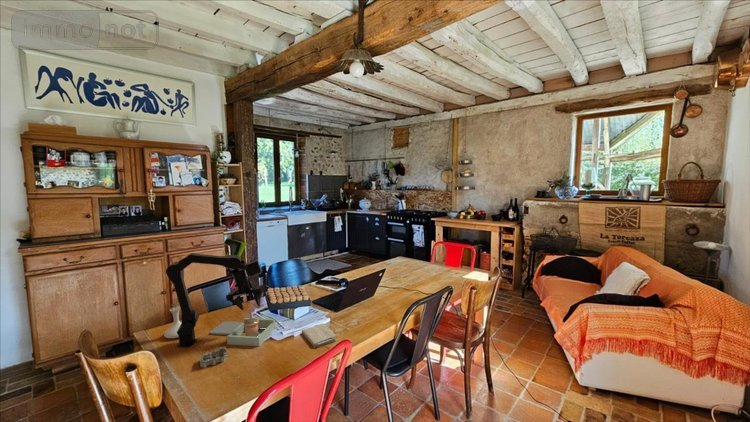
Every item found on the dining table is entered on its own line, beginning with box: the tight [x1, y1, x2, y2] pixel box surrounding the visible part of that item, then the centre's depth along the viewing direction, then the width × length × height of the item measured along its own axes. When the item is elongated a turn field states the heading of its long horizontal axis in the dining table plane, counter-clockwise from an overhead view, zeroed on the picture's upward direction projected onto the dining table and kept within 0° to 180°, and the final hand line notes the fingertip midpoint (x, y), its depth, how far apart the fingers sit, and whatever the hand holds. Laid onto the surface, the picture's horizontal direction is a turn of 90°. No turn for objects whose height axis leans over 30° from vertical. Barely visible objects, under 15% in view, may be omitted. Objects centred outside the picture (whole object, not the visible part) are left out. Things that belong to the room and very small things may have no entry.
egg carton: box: [198, 345, 228, 369], centre depth 135 cm, size 11×8×4 cm
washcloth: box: [301, 323, 337, 349], centre depth 153 cm, size 12×18×3 cm, turn 34°
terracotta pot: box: [242, 317, 260, 337], centre depth 155 cm, size 7×7×8 cm
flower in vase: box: [163, 297, 182, 339], centre depth 158 cm, size 13×11×25 cm
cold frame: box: [226, 317, 276, 347], centre depth 155 cm, size 16×16×6 cm
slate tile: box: [209, 321, 244, 336], centre depth 163 cm, size 12×12×1 cm
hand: (251, 308), depth 159 cm, fingers open, 9 cm apart
